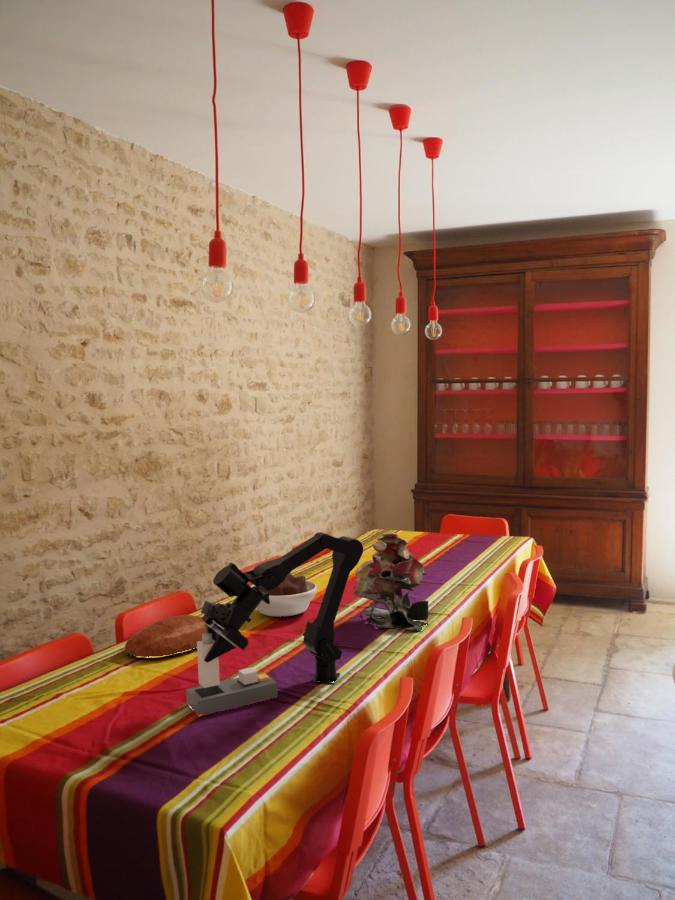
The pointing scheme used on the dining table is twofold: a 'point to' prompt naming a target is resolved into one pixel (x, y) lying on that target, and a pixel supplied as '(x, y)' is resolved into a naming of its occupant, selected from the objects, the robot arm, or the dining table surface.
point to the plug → (207, 670)
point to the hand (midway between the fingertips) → (202, 658)
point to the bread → (167, 636)
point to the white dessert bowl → (288, 597)
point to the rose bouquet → (391, 583)
